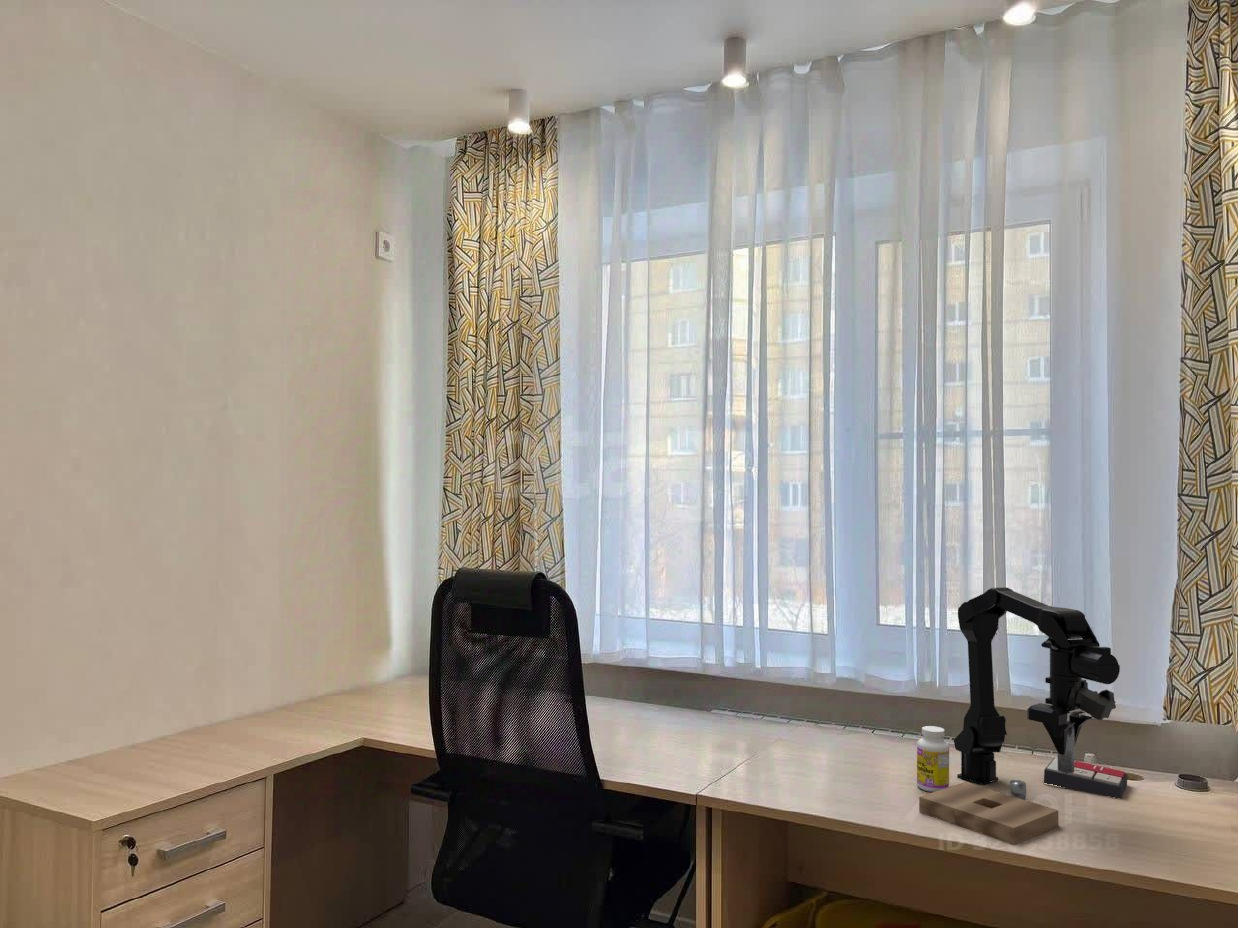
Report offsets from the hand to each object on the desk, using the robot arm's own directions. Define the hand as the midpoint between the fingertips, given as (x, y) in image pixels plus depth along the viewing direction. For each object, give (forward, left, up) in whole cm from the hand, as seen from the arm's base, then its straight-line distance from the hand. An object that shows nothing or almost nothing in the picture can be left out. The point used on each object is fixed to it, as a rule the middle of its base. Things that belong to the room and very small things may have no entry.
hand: (1065, 752), depth 176 cm
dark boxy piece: (-8, +25, -14) cm, 29 cm away
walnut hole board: (-9, -13, -13) cm, 20 cm away
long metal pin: (0, 0, -3) cm, 3 cm away
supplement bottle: (-26, -6, -13) cm, 30 cm away
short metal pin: (-10, 0, -13) cm, 16 cm away
